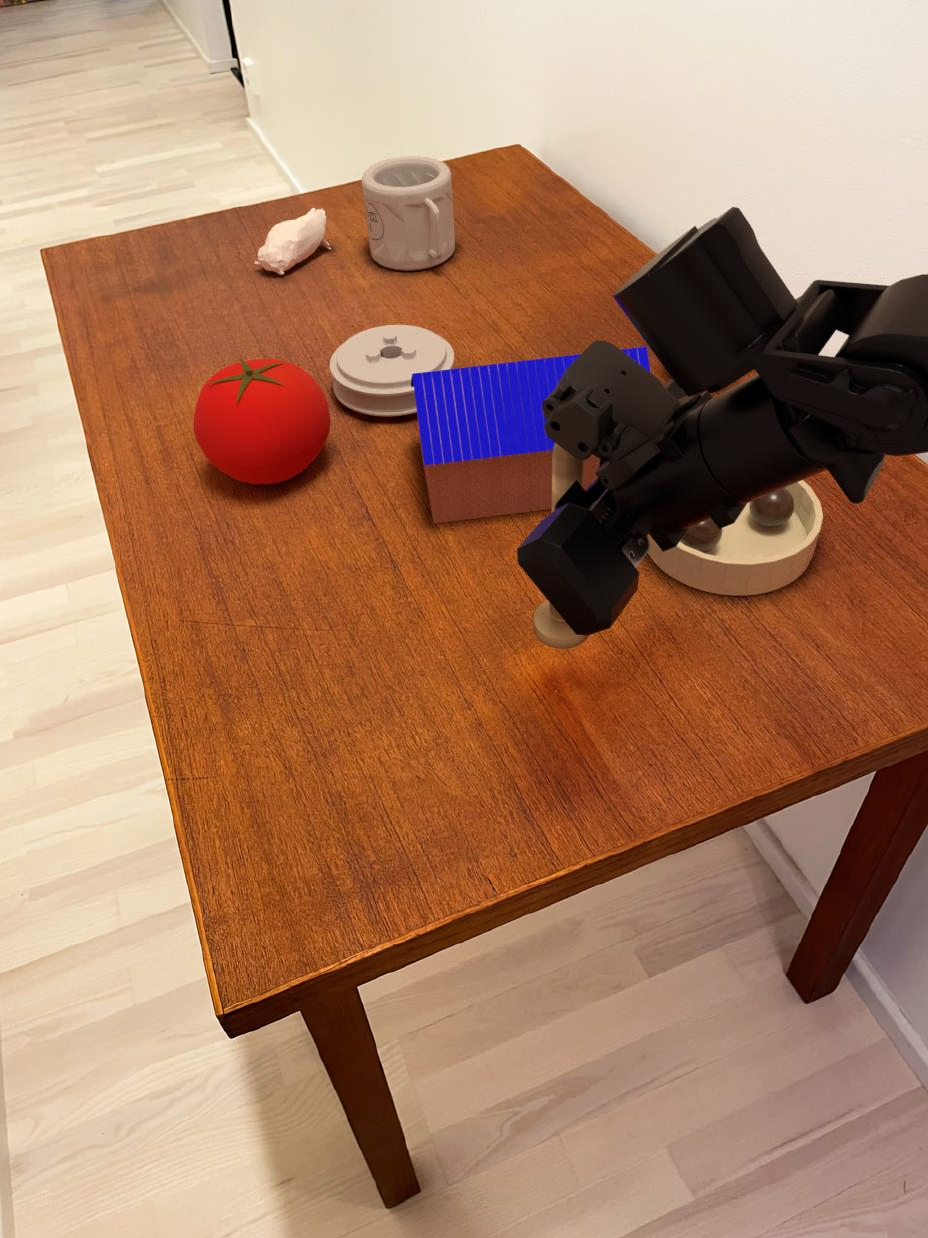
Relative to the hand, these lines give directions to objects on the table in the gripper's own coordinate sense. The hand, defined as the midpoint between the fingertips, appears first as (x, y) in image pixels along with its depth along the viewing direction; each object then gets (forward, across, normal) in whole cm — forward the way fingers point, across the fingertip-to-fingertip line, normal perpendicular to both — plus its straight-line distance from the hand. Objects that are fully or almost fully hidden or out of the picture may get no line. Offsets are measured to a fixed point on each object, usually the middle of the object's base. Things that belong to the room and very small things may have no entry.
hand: (546, 539), depth 62 cm
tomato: (+34, -10, -15) cm, 39 cm away
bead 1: (+5, -18, +11) cm, 22 cm away
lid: (+33, -26, -13) cm, 44 cm away
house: (+19, -21, 0) cm, 28 cm away
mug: (+43, -52, -24) cm, 72 cm away
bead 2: (+2, -24, +14) cm, 28 cm away
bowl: (+6, -21, +14) cm, 26 cm away
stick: (+4, 0, +6) cm, 8 cm away
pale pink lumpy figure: (+52, -44, -33) cm, 76 cm away
